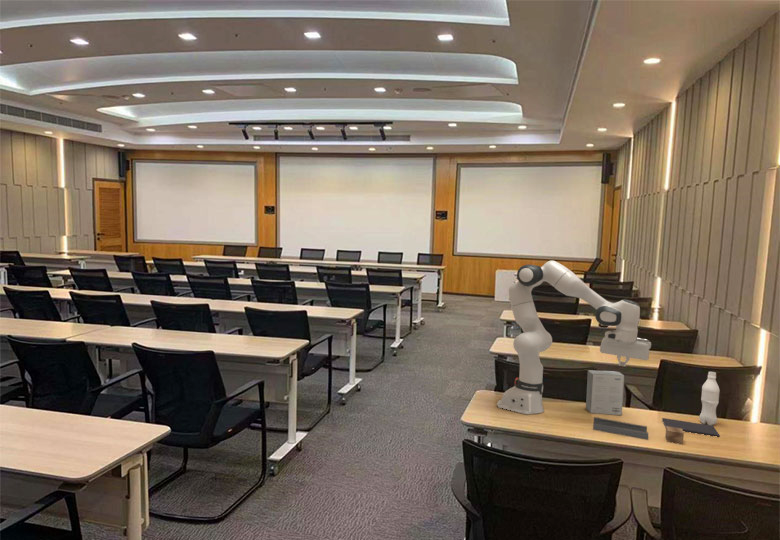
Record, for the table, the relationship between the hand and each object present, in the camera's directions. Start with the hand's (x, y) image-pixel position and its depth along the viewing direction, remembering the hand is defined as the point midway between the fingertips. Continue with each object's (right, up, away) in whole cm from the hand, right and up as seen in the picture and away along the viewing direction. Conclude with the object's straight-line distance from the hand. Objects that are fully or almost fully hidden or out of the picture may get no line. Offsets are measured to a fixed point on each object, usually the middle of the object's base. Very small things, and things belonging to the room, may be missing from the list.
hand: (622, 365), depth 227 cm
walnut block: (+17, -30, -11) cm, 37 cm away
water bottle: (+47, -30, +12) cm, 57 cm away
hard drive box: (+1, -27, +22) cm, 35 cm away
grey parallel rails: (-2, -29, -2) cm, 29 cm away
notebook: (+33, -31, +5) cm, 46 cm away
